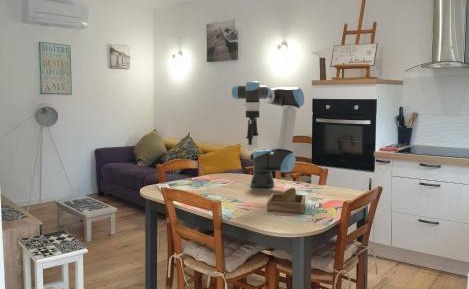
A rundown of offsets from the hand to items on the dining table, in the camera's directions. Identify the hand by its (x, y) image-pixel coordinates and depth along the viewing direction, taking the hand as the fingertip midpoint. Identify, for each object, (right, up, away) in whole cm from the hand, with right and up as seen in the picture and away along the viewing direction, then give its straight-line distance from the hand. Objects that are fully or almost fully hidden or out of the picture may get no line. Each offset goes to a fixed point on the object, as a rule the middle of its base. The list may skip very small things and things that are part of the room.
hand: (252, 149), depth 233 cm
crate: (+17, -30, -12) cm, 37 cm away
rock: (+17, -30, -13) cm, 37 cm away
